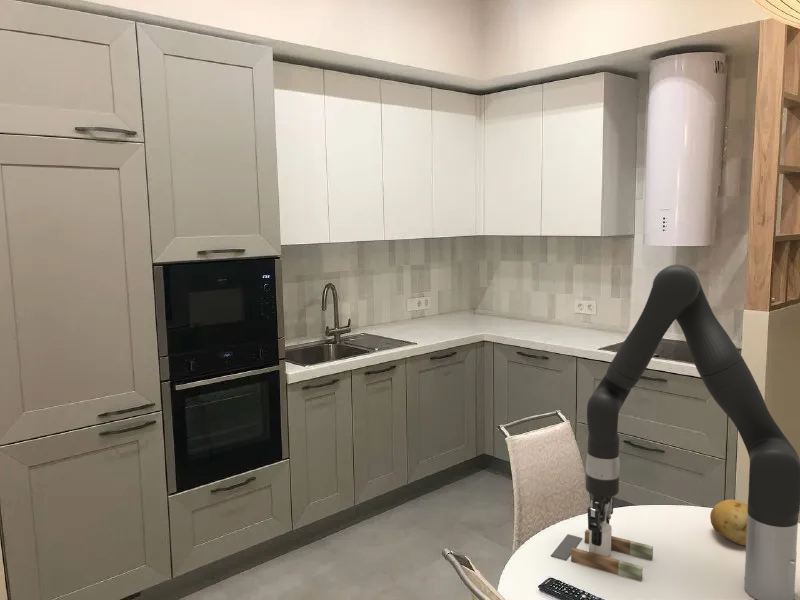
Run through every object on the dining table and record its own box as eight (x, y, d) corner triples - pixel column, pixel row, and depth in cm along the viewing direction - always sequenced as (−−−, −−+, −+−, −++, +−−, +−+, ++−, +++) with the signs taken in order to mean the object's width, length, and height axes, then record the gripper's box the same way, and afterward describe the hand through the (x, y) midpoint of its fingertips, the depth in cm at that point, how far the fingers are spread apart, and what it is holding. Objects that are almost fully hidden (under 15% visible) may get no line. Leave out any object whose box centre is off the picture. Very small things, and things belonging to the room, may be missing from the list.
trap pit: (582, 539, 160) (582, 537, 160) (566, 560, 150) (566, 559, 150) (567, 535, 162) (567, 534, 162) (550, 556, 152) (550, 555, 152)
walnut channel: (652, 558, 150) (653, 546, 149) (641, 581, 140) (641, 569, 140) (586, 540, 159) (586, 529, 158) (571, 561, 149) (571, 549, 149)
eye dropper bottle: (614, 561, 149) (616, 513, 147) (590, 561, 149) (592, 513, 147) (608, 551, 153) (610, 505, 152) (585, 551, 153) (586, 505, 152)
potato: (734, 525, 164) (735, 489, 163) (770, 550, 152) (772, 510, 151) (699, 530, 162) (700, 493, 161) (732, 555, 150) (734, 515, 149)
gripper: (609, 486, 140) (607, 557, 143) (626, 465, 152) (624, 530, 154) (576, 479, 145) (575, 548, 147) (595, 458, 156) (593, 522, 159)
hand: (600, 538), depth 151 cm, fingers closed on eye dropper bottle, 5 cm apart
